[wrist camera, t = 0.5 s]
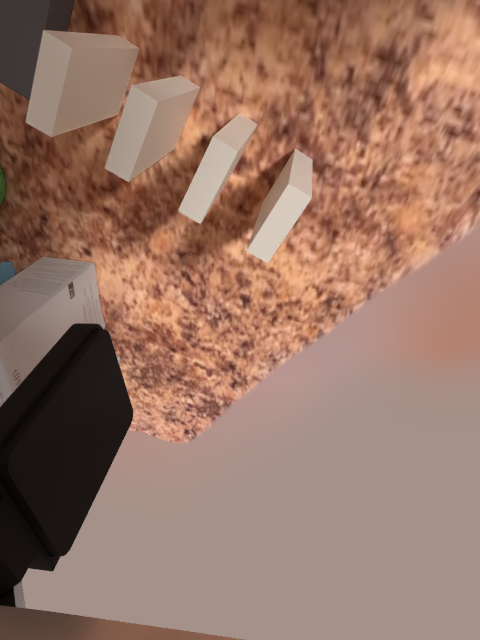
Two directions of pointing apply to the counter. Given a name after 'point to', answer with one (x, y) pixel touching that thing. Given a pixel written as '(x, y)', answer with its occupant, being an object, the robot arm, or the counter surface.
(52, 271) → the skincare box
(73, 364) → the robot arm
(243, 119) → the domino
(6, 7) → the block
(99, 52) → the domino
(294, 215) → the domino
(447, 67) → the counter surface
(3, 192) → the wine bottle
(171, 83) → the domino
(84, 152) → the counter surface
